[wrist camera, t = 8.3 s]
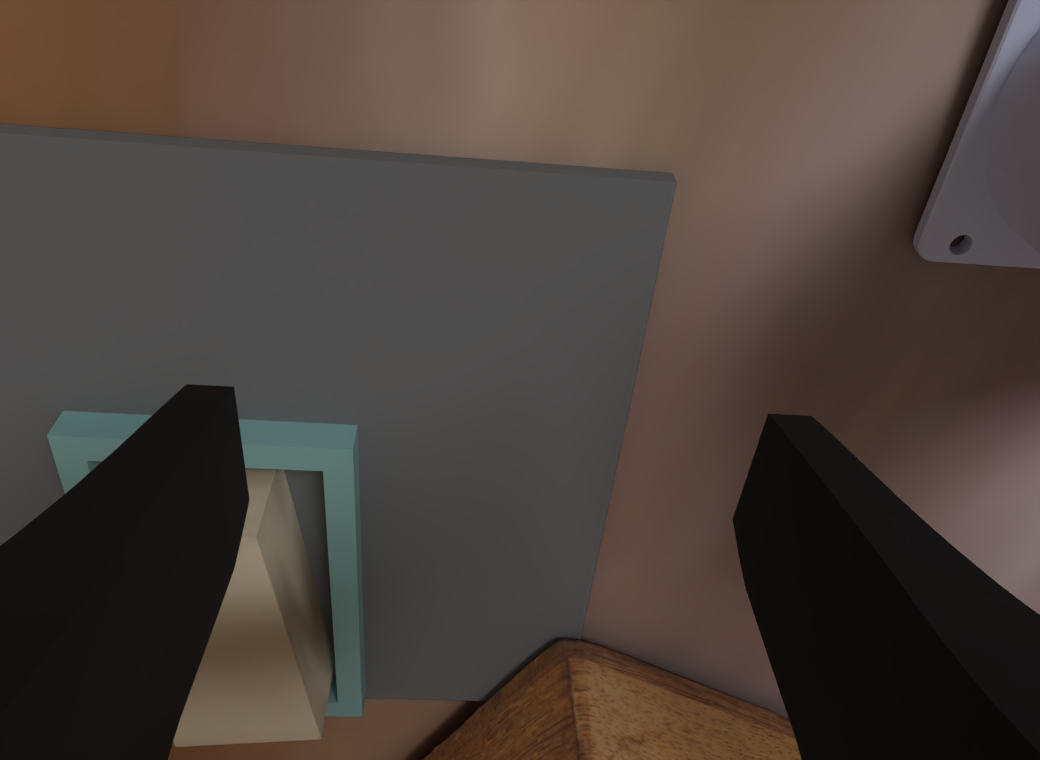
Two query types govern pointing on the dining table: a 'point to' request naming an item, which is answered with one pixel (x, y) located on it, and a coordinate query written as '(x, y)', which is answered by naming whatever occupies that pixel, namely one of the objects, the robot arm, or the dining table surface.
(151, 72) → the dining table surface
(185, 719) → the beige block
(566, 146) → the dining table surface
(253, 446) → the teal frame
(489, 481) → the rubber mat
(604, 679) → the wooden box
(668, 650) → the dining table surface
